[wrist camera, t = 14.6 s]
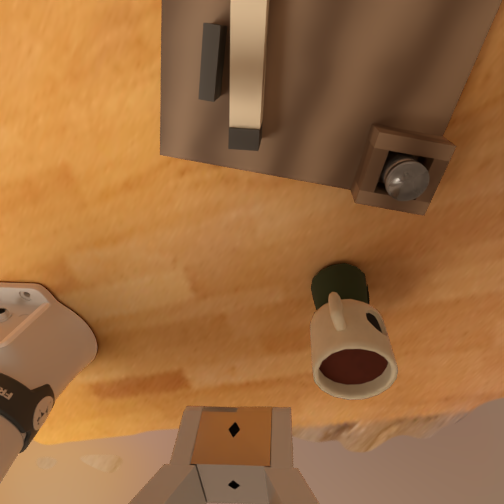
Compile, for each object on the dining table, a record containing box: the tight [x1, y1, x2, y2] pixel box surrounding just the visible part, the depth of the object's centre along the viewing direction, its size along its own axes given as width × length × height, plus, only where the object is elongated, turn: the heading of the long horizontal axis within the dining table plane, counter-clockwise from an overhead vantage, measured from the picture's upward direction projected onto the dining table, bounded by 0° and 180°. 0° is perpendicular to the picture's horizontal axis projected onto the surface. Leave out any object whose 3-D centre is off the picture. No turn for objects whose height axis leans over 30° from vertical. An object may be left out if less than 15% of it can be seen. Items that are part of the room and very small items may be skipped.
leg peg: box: [380, 151, 429, 201], centre depth 29 cm, size 3×3×4 cm
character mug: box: [310, 263, 398, 400], centre depth 36 cm, size 11×7×13 cm, turn 22°
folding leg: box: [228, 0, 270, 151], centre depth 26 cm, size 14×3×3 cm, turn 177°
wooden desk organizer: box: [160, 0, 502, 215], centre depth 27 cm, size 24×22×5 cm
